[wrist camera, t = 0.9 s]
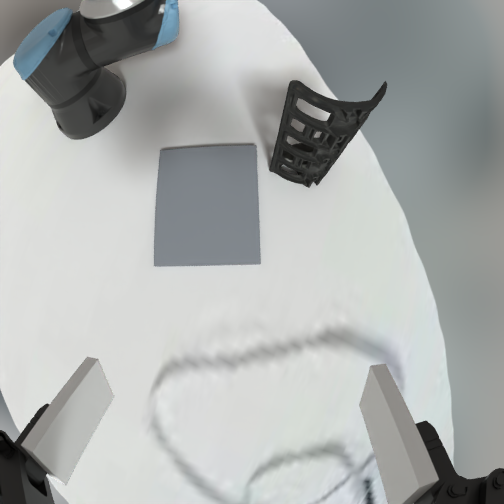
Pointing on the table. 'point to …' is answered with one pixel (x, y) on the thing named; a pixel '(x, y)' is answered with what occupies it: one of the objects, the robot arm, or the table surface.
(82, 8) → the robot arm
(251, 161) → the mat
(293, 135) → the holder
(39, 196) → the table surface
